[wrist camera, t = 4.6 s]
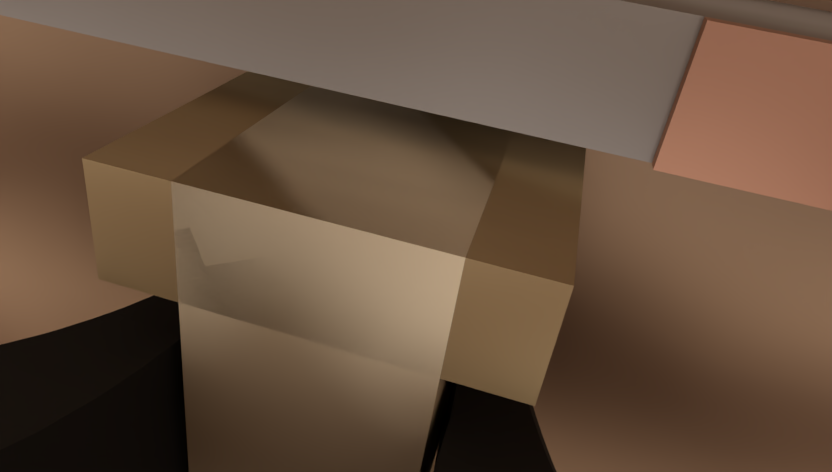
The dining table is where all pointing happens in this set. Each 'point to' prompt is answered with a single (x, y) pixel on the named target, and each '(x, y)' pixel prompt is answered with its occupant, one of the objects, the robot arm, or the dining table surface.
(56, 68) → the board
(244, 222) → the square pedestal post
